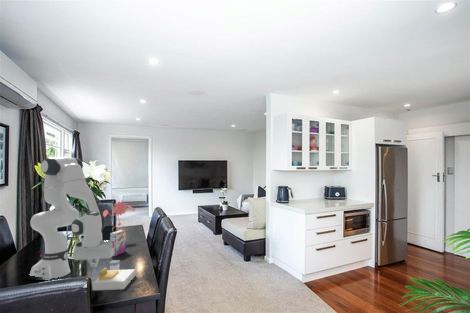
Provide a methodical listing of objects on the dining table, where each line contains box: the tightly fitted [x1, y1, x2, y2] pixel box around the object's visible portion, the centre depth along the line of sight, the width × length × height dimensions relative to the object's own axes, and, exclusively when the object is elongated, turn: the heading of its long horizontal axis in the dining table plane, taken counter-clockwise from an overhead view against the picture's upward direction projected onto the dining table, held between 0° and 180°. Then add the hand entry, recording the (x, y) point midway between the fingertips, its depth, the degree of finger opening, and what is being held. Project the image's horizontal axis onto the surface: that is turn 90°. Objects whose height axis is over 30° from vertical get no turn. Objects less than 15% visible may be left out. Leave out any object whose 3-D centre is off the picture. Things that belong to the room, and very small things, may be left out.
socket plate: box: [92, 268, 136, 291], centre depth 142 cm, size 16×16×4 cm
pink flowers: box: [102, 200, 135, 241], centre depth 225 cm, size 15×26×35 cm, turn 138°
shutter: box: [97, 267, 119, 279], centre depth 142 cm, size 7×9×3 cm
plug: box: [108, 259, 121, 270], centre depth 157 cm, size 5×5×6 cm
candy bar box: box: [109, 229, 127, 257], centre depth 192 cm, size 11×5×16 cm, turn 163°
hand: (93, 266), depth 142 cm, fingers closed
